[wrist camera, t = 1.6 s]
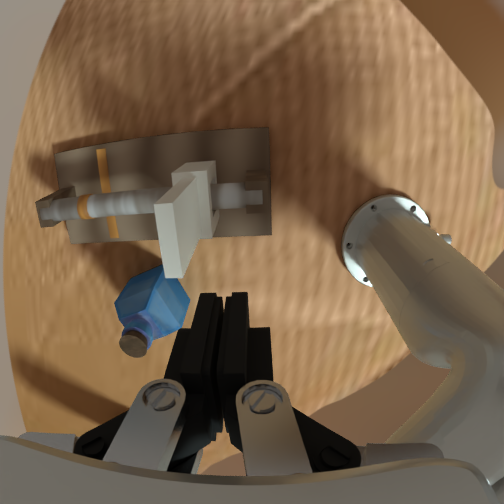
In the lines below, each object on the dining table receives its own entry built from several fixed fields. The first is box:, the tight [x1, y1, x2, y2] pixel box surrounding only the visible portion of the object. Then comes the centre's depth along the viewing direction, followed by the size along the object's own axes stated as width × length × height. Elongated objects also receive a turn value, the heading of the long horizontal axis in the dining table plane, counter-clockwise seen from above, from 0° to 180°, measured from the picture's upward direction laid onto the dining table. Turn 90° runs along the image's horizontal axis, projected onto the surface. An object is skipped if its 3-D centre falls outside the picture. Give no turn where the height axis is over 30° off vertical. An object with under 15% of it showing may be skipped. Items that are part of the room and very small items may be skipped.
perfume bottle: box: [114, 264, 190, 358], centre depth 36 cm, size 6×6×12 cm
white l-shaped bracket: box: [154, 161, 219, 278], centre depth 26 cm, size 3×6×14 cm, turn 3°
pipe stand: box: [35, 127, 272, 244], centre depth 32 cm, size 26×12×8 cm, turn 92°
